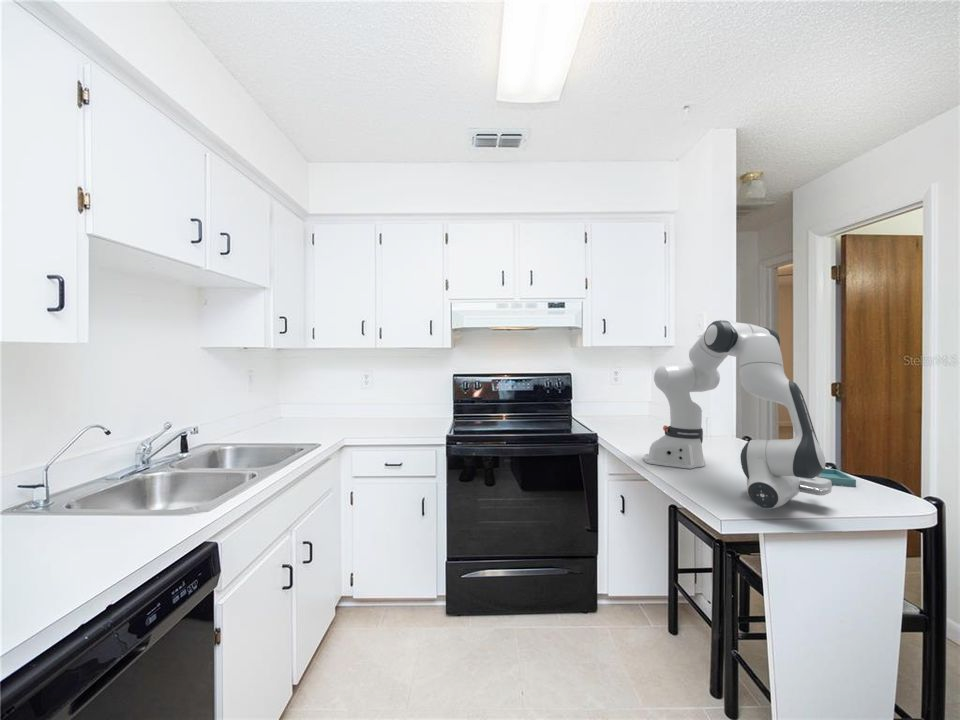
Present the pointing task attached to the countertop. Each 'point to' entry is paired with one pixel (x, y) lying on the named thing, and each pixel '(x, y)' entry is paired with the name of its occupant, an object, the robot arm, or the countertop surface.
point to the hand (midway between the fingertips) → (794, 474)
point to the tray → (838, 477)
